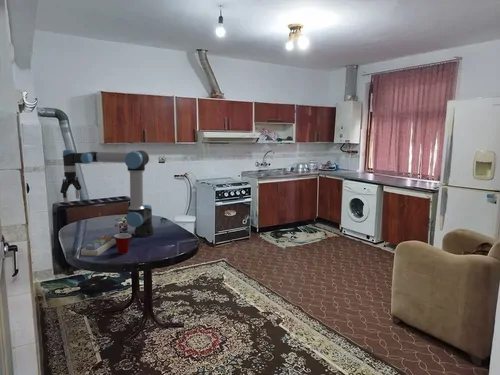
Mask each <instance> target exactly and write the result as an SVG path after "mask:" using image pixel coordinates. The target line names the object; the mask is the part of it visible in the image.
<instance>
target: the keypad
mask: <svg viewBox="0 0 500 375" xmlns="http://www.w3.org/2000/svg"><path fill="white" fill-rule="evenodd" d="M115 245H116V241H115V238H112V237H111V239H110V240H109V241H106V243H104V244H103V245H100V246H99V247H98V248H96V249H86V246H85V247H83V248H82V249H80V254H81V256H97V257H98V256H99V255H102V254H103V253H104V252H105V251H107V250H108V249H110V248H111V247H113V246H115Z"/></svg>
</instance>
